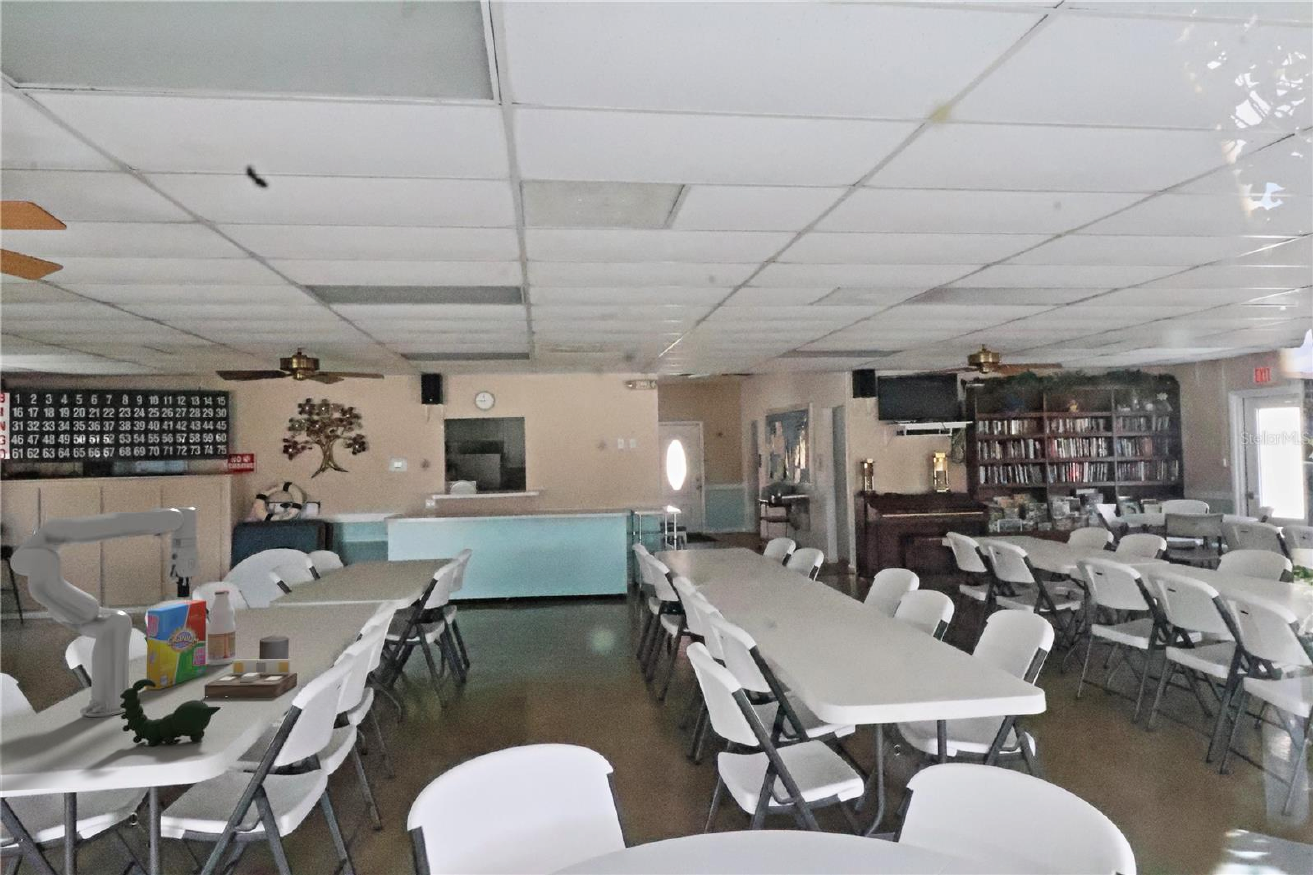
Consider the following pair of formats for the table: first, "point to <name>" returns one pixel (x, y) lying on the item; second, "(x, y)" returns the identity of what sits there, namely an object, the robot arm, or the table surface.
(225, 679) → the left button
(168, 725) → the toy figurine
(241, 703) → the table surface
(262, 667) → the card
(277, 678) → the right button
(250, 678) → the middle button
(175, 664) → the game box
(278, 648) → the pillar candle
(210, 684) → the button board
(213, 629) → the fruit juice
